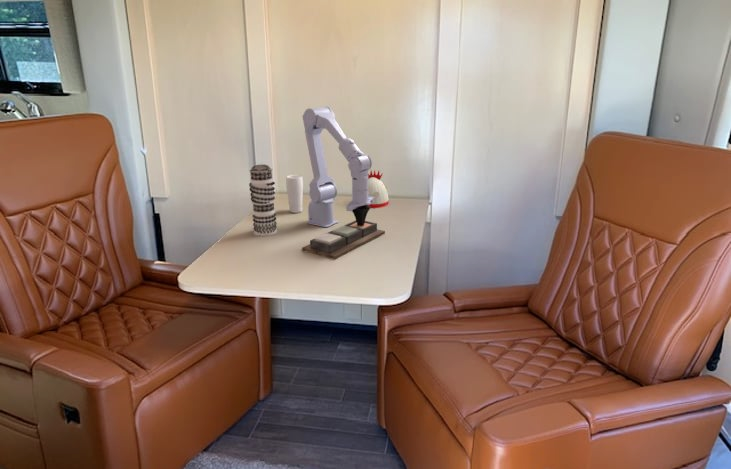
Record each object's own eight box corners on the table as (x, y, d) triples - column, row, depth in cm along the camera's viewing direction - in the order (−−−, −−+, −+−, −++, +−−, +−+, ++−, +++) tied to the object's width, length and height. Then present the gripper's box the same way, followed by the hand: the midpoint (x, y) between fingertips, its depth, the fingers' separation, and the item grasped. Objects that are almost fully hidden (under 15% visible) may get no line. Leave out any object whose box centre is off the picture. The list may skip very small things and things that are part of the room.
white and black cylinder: (273, 226, 200) (269, 162, 192) (281, 233, 192) (277, 166, 184) (250, 230, 196) (244, 164, 188) (257, 237, 188) (251, 169, 180)
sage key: (332, 235, 182) (332, 230, 182) (343, 230, 187) (343, 225, 187) (347, 239, 179) (346, 233, 178) (357, 234, 184) (357, 228, 183)
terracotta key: (348, 231, 190) (348, 226, 189) (358, 226, 195) (358, 221, 194) (362, 234, 187) (362, 229, 186) (372, 229, 191) (372, 224, 191)
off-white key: (314, 243, 175) (314, 238, 174) (326, 238, 180) (326, 232, 179) (329, 247, 171) (329, 241, 171) (341, 241, 176) (341, 236, 176)
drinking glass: (307, 210, 220) (306, 175, 215) (297, 214, 214) (295, 179, 209) (295, 208, 223) (293, 173, 218) (284, 212, 218) (282, 177, 213)
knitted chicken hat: (388, 208, 223) (388, 173, 218) (356, 207, 223) (355, 173, 218) (388, 199, 236) (388, 166, 231) (358, 199, 237) (357, 166, 232)
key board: (302, 250, 176) (301, 240, 175) (353, 226, 199) (353, 217, 198) (334, 259, 168) (334, 248, 167) (384, 233, 192) (384, 223, 190)
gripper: (357, 195, 178) (358, 232, 182) (380, 186, 189) (380, 222, 194) (341, 192, 182) (342, 229, 186) (364, 183, 193) (365, 218, 197)
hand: (360, 225), depth 190 cm, fingers closed, pressing on terracotta key
